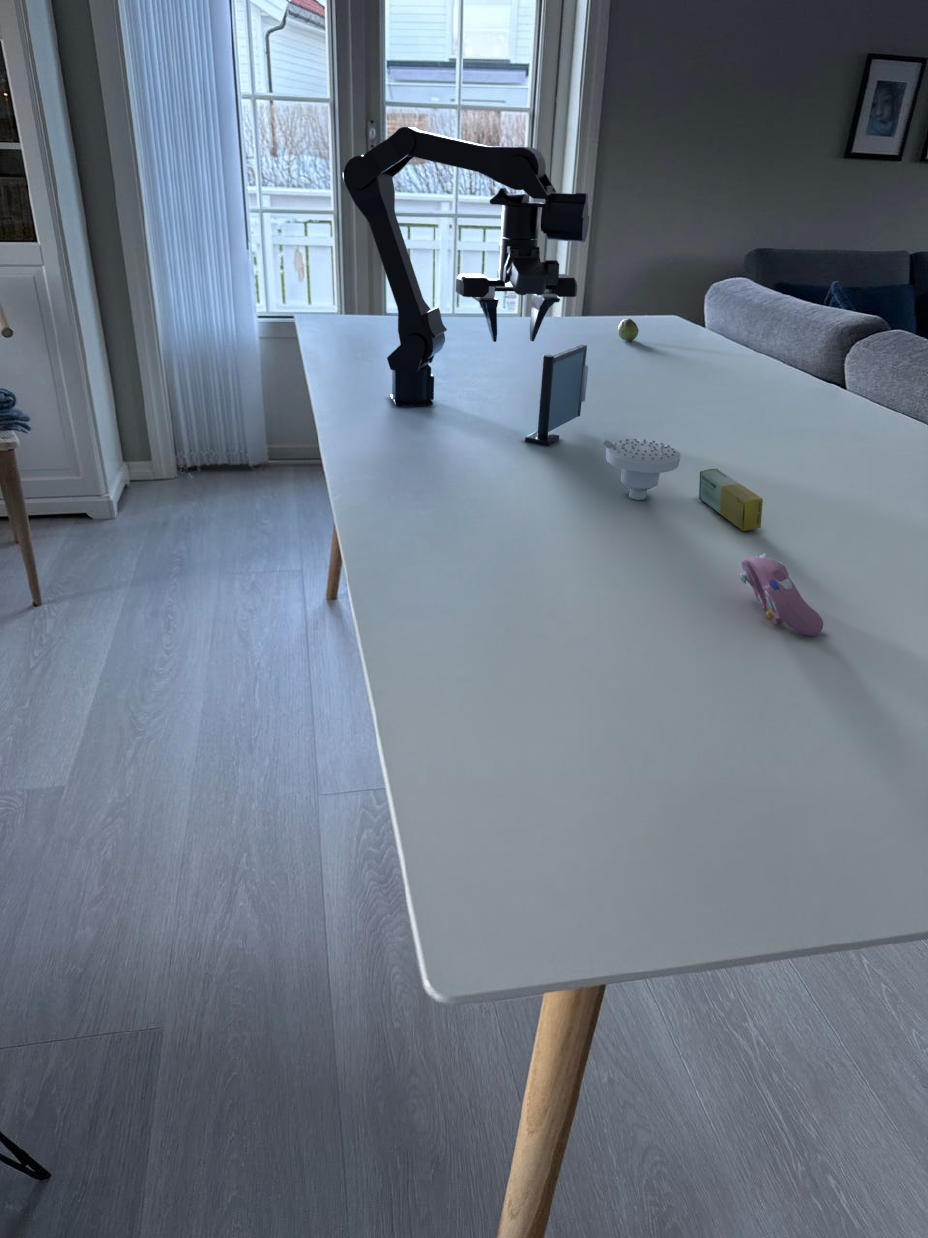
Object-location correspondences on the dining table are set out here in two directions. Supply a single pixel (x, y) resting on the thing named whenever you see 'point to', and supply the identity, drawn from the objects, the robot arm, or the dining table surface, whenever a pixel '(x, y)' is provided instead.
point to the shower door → (568, 386)
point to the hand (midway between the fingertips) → (513, 341)
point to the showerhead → (641, 463)
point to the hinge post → (544, 407)
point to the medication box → (731, 499)
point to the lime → (628, 330)
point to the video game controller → (780, 595)
